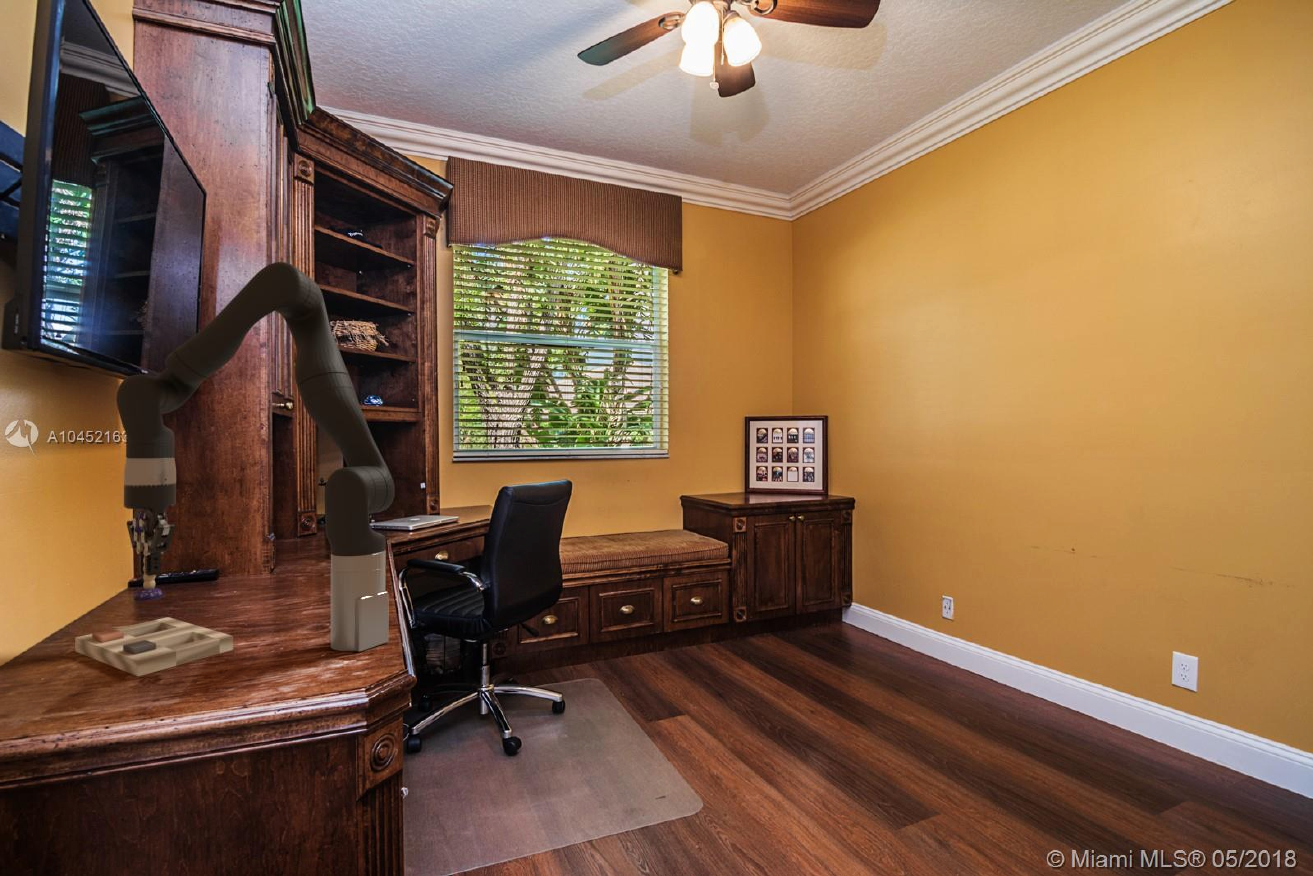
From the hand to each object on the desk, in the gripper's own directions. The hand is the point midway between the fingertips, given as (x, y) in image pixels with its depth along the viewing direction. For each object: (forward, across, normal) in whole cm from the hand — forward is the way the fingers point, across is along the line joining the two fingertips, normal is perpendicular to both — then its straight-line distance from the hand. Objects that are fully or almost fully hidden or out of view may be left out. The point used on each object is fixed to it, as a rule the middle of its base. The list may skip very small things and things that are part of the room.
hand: (149, 573), depth 113 cm
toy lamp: (+5, 0, 0) cm, 5 cm away
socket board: (+13, -6, +2) cm, 14 cm away
